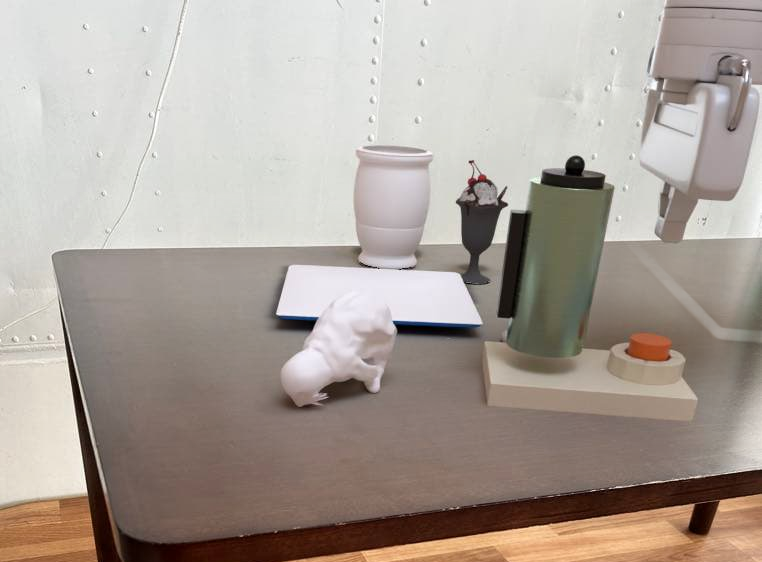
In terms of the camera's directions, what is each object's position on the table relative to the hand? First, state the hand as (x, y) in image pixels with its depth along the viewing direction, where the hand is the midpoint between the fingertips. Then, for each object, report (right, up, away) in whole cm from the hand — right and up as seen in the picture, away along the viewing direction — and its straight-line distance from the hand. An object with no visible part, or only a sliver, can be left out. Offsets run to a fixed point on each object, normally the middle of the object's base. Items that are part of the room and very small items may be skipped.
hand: (667, 239), depth 71 cm
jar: (-23, +13, +47) cm, 54 cm away
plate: (-25, +2, +27) cm, 37 cm away
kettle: (-10, -8, +5) cm, 14 cm away
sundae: (-11, +9, +41) cm, 43 cm away
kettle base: (-6, -12, +6) cm, 15 cm away
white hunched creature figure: (-29, -13, +2) cm, 32 cm away
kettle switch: (0, -9, +4) cm, 10 cm away
